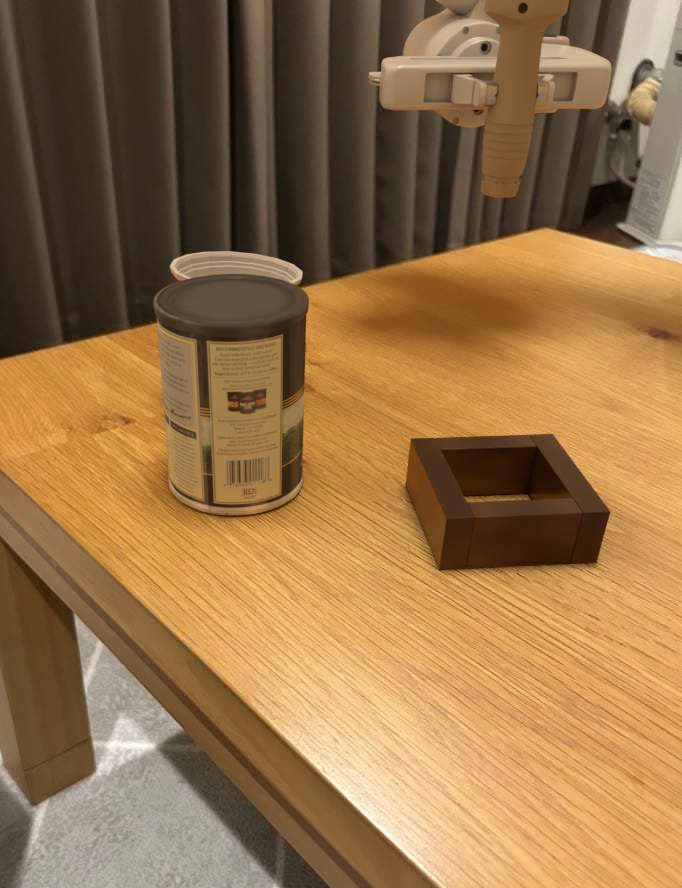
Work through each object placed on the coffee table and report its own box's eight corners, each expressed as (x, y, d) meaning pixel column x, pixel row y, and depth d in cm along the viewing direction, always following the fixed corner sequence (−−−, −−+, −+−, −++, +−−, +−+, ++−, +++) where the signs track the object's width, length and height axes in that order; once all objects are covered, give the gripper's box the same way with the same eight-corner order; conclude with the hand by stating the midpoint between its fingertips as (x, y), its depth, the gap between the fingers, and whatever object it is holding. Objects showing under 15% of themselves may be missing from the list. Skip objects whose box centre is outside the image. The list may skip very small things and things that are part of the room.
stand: (542, 480, 66) (552, 433, 63) (596, 562, 57) (610, 511, 55) (405, 485, 65) (410, 438, 63) (439, 569, 56) (446, 518, 54)
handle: (533, 204, 74) (568, -4, 65) (458, 198, 75) (482, -6, 67) (538, 191, 77) (571, -7, 69) (466, 186, 79) (490, -8, 71)
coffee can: (248, 435, 71) (246, 263, 63) (331, 486, 65) (341, 301, 57) (140, 473, 66) (123, 291, 58) (219, 533, 59) (212, 337, 51)
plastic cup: (323, 409, 75) (329, 271, 68) (212, 438, 71) (207, 294, 64) (261, 365, 83) (261, 238, 76) (158, 389, 78) (148, 255, 72)
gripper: (366, 36, 80) (395, 52, 69) (581, 35, 81) (645, 50, 70) (362, 112, 83) (389, 138, 72) (568, 109, 85) (626, 135, 74)
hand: (517, 95), depth 71 cm, fingers closed on handle, 3 cm apart
